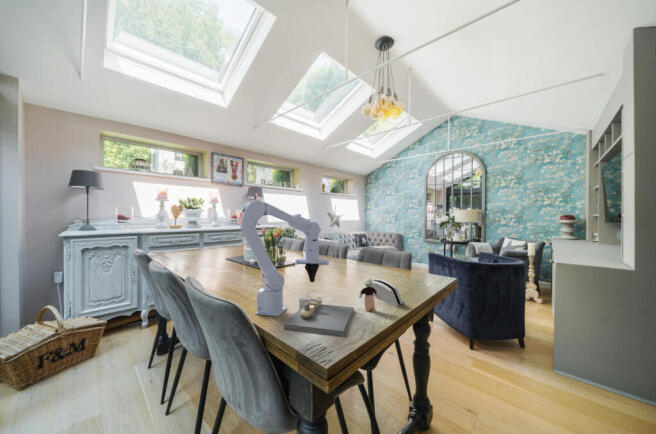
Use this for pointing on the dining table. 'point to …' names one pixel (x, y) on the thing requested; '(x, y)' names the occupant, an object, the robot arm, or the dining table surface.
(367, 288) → the grandmother figurine
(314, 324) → the board
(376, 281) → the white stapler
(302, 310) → the link
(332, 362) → the dining table surface
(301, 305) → the keeper
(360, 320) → the dining table surface
